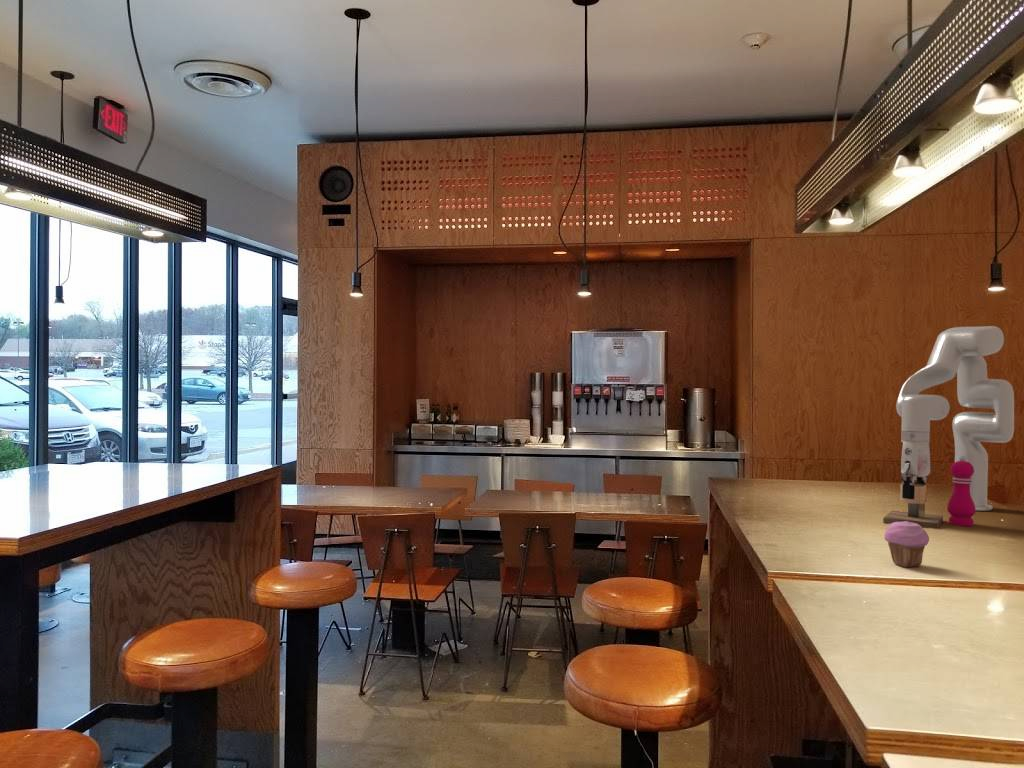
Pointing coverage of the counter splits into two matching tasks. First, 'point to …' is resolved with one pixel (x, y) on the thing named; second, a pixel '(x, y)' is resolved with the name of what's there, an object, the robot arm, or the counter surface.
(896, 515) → the keyed shaft block
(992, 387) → the robot arm
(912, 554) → the cupcake
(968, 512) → the pepper mill
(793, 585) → the counter surface
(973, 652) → the counter surface
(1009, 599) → the counter surface
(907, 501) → the pale wooden collar
